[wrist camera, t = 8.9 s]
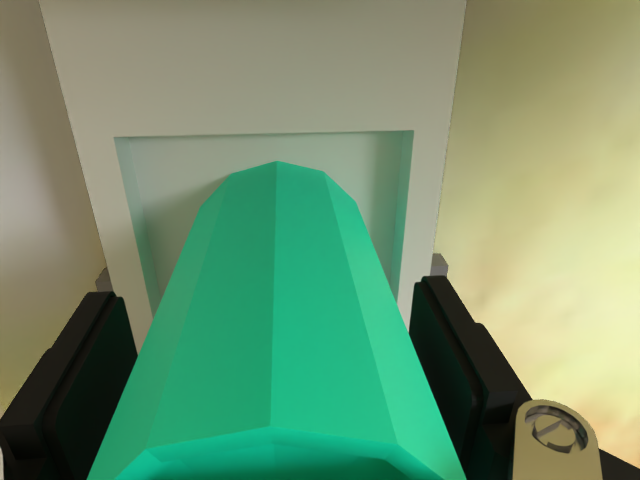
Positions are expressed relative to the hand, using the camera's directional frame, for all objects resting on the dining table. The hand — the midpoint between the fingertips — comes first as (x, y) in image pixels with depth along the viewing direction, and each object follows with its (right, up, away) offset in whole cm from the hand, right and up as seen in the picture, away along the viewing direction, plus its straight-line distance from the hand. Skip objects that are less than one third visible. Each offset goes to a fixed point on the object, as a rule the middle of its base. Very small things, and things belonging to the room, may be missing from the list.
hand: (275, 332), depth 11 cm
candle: (0, +2, +4) cm, 5 cm away
